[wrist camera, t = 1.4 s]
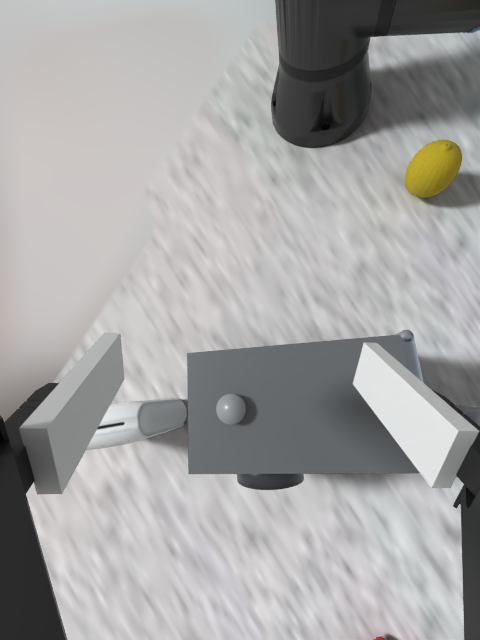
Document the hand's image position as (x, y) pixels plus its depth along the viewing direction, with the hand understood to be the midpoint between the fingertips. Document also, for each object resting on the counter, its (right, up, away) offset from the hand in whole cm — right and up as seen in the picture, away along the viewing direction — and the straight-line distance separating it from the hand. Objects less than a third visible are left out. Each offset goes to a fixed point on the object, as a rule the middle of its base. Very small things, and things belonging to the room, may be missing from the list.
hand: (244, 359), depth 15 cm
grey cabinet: (+7, -8, +21) cm, 23 cm away
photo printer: (-12, -12, +24) cm, 30 cm away
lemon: (+25, +20, +24) cm, 40 cm away
